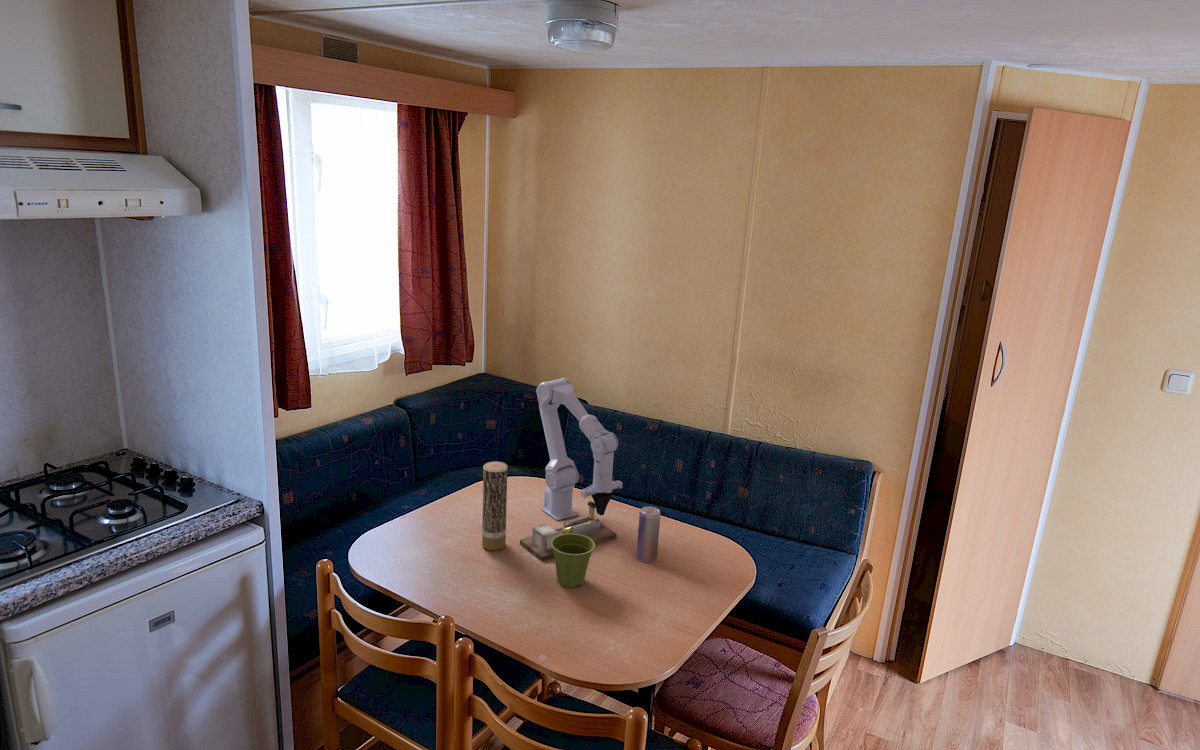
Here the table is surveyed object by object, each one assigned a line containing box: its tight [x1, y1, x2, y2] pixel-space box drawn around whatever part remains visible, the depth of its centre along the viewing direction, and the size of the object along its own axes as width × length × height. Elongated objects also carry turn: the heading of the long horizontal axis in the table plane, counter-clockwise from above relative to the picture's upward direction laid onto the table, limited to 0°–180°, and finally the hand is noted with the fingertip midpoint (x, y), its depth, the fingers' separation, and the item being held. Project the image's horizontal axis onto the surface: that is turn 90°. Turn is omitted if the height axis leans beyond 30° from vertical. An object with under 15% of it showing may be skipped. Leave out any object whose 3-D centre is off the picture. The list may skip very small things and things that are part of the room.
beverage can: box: [635, 505, 661, 563], centre depth 214 cm, size 6×6×15 cm
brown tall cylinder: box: [481, 461, 508, 551], centre depth 215 cm, size 7×7×25 cm
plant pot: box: [551, 533, 596, 588], centre depth 200 cm, size 12×12×11 cm
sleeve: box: [563, 514, 601, 536], centre depth 225 cm, size 5×10×4 cm, turn 127°
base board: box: [519, 522, 618, 562], centre depth 223 cm, size 12×27×2 cm, turn 127°
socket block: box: [531, 523, 558, 550], centre depth 217 cm, size 6×4×4 cm
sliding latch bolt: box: [562, 501, 597, 534], centre depth 224 cm, size 3×11×8 cm, turn 127°
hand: (600, 513), depth 229 cm, fingers closed
